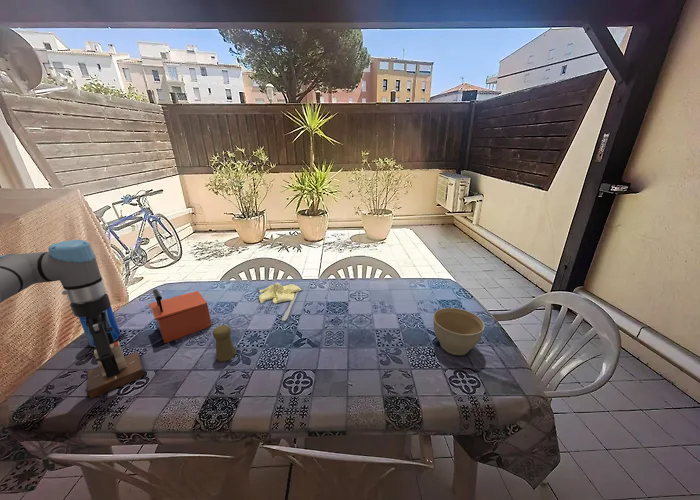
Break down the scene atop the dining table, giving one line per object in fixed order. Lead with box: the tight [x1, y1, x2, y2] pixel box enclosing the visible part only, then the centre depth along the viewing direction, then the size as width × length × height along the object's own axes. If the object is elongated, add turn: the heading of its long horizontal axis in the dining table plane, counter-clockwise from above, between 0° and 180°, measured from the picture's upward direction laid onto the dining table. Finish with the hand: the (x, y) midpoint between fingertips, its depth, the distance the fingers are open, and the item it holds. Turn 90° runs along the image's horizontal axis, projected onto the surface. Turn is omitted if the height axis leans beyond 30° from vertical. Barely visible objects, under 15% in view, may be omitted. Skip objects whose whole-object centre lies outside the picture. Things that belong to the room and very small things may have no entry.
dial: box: [93, 340, 127, 376], centre depth 79 cm, size 6×2×8 cm, turn 132°
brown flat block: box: [87, 351, 145, 399], centre depth 81 cm, size 12×10×3 cm
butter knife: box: [281, 291, 300, 322], centre depth 121 cm, size 1×27×3 cm
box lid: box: [148, 288, 208, 321], centre depth 100 cm, size 16×13×7 cm
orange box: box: [155, 304, 212, 344], centre depth 103 cm, size 16×13×10 cm
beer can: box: [78, 304, 121, 348], centre depth 94 cm, size 8×8×16 cm
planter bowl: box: [432, 307, 485, 356], centre depth 93 cm, size 16×16×11 cm
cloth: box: [258, 282, 302, 304], centre depth 129 cm, size 22×19×6 cm
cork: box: [212, 324, 237, 362], centre depth 88 cm, size 6×6×11 cm
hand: (112, 362), depth 79 cm, fingers open, 12 cm apart
